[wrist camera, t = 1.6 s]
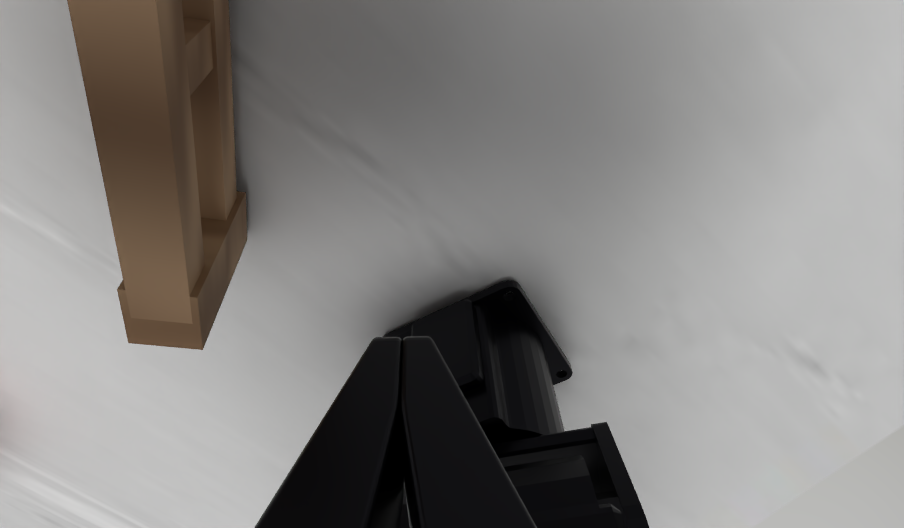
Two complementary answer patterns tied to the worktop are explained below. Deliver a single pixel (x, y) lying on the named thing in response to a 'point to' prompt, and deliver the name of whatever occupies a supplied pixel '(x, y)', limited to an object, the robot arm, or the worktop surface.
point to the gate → (165, 157)
